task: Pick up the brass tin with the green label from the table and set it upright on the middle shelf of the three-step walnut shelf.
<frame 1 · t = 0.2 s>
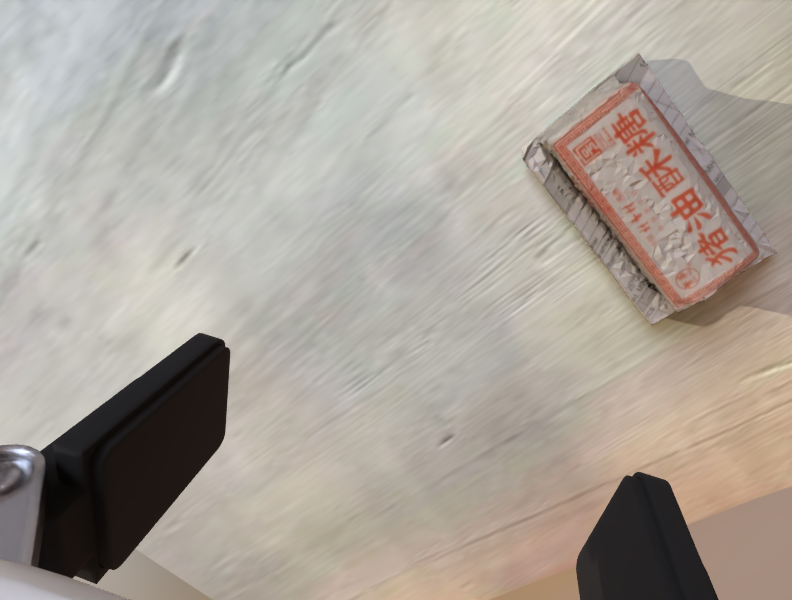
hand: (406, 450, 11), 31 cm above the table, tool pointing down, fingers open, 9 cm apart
packaged product: (640, 198, 36), on the table
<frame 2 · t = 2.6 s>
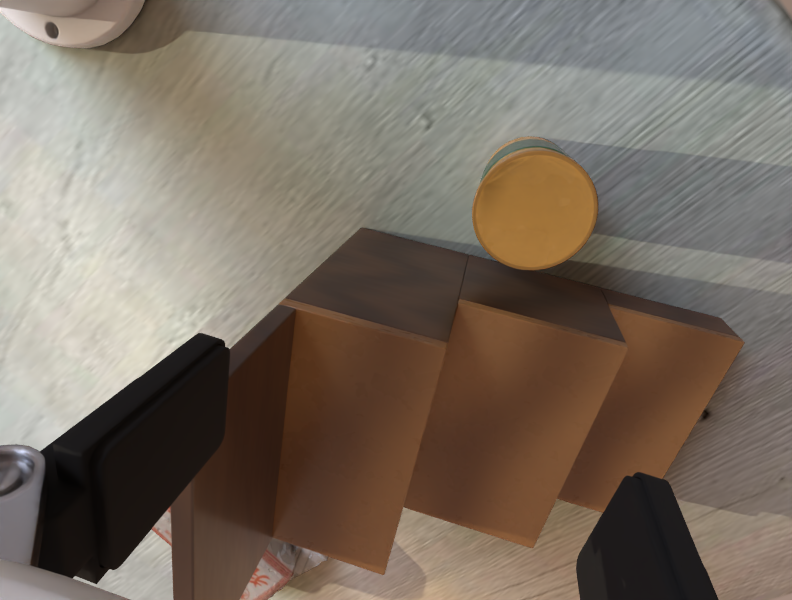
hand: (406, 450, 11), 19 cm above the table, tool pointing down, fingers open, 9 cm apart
packaged product: (231, 503, 43), on the table
step shelf: (500, 365, 31), on the table
tin: (525, 181, 26), on the table
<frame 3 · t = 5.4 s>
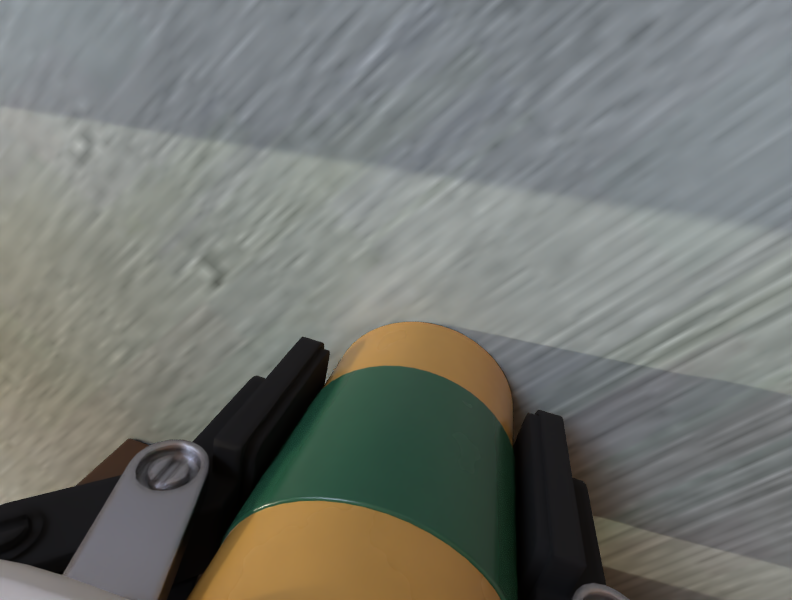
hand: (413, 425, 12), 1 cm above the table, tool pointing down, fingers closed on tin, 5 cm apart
tin: (420, 401, 12), on the table, touching gripper
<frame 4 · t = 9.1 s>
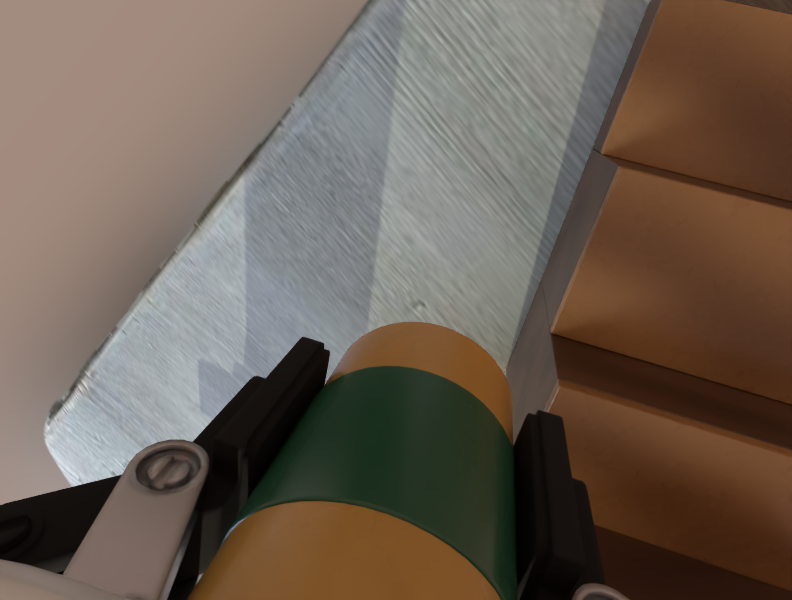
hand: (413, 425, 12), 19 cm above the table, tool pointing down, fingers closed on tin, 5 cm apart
step shelf: (687, 250, 27), on the table
tin: (420, 401, 12), point 18 cm above the table, touching gripper
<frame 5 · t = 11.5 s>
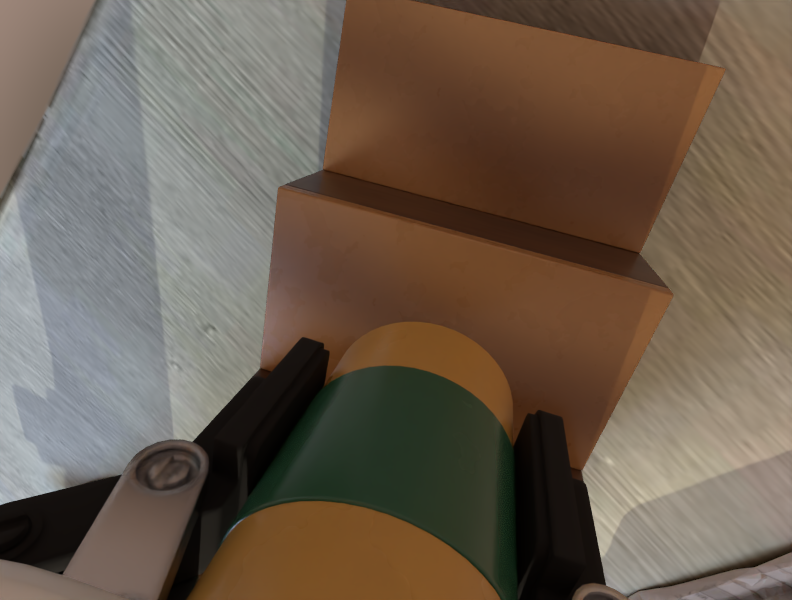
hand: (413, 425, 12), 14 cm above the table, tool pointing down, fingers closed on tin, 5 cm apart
step shelf: (457, 271, 24), on the table
tin: (420, 401, 12), point 13 cm above the table, touching gripper
when the fingers open (9 cm above the table, at t = 13.2 s): tin stays where it is, resting on step shelf.
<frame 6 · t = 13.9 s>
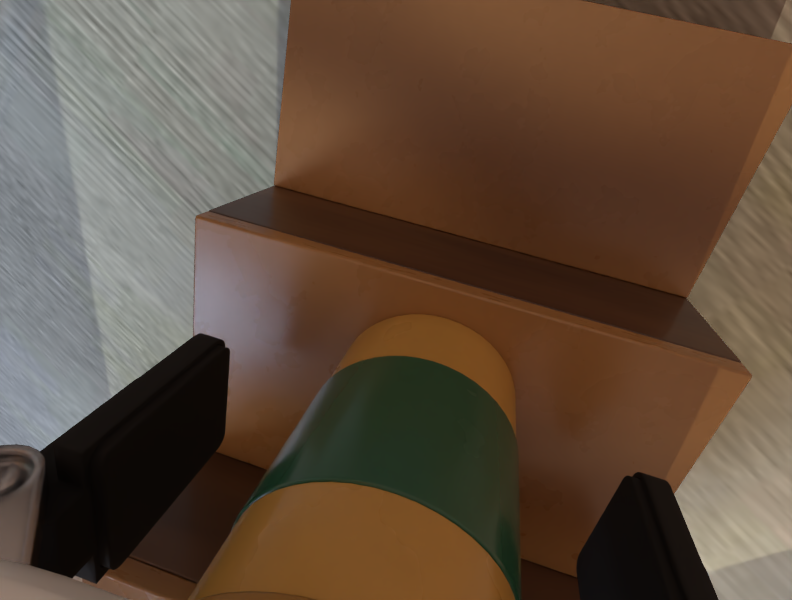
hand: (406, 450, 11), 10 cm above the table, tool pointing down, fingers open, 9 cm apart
step shelf: (449, 307, 20), on the table
tin: (424, 393, 13), point 7 cm above the table, touching step shelf
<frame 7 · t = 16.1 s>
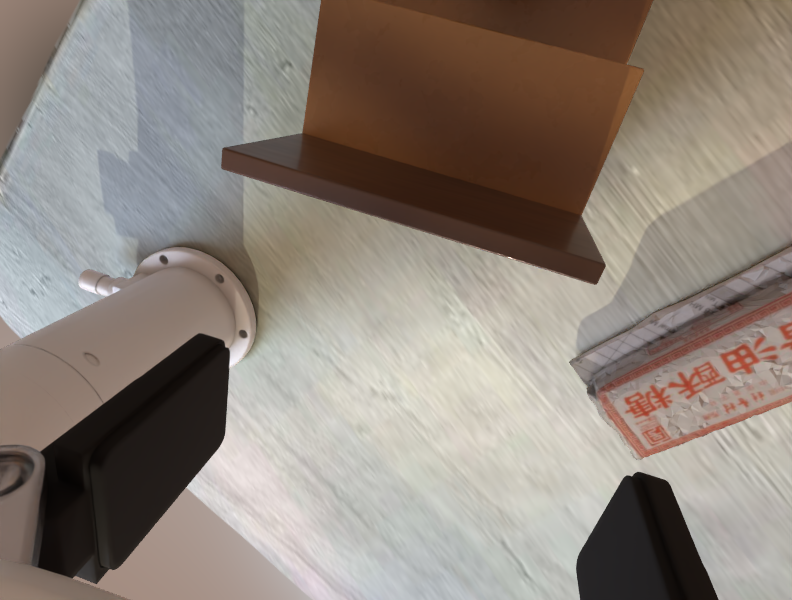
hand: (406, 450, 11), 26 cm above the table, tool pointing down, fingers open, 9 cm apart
packaged product: (714, 348, 35), on the table
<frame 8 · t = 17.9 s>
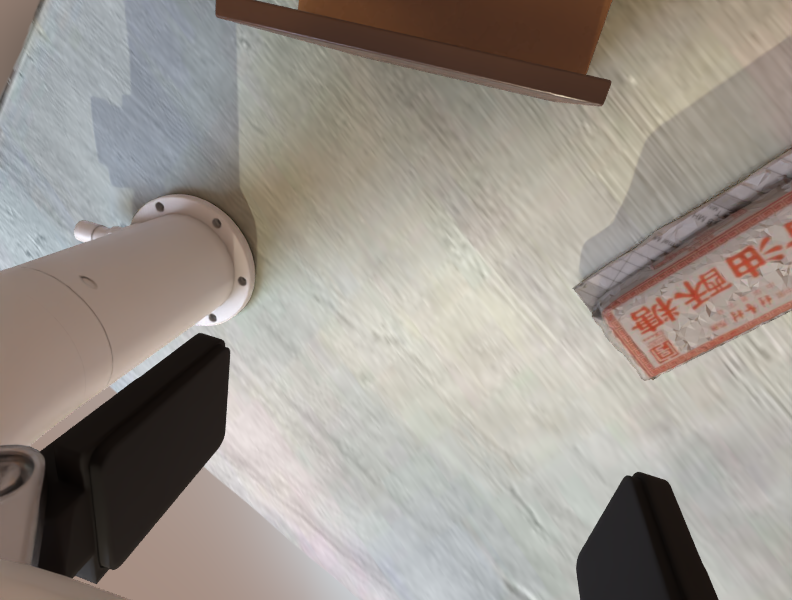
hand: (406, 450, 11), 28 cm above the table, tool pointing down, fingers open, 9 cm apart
packaged product: (718, 265, 34), on the table
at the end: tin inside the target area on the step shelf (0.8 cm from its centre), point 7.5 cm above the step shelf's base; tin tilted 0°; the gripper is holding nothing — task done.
